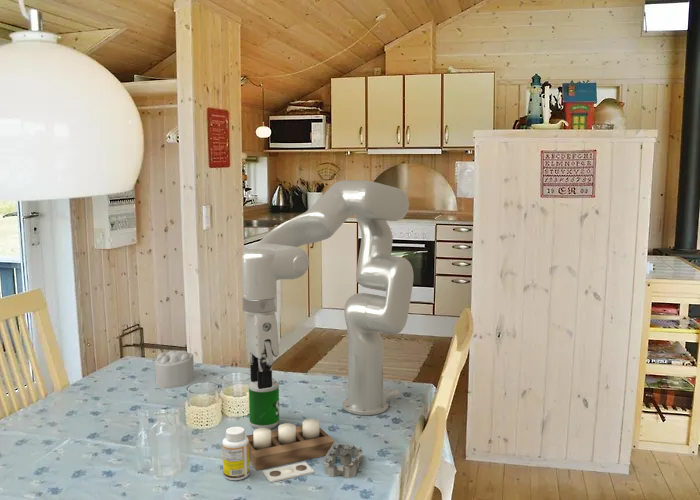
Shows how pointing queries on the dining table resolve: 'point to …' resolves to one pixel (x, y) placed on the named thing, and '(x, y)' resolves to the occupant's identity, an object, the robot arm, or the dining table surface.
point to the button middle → (287, 433)
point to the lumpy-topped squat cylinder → (174, 369)
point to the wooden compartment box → (288, 450)
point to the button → (311, 429)
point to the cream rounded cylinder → (262, 438)
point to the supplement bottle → (235, 454)
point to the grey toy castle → (342, 460)
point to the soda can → (264, 405)
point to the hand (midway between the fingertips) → (261, 383)
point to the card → (288, 472)
